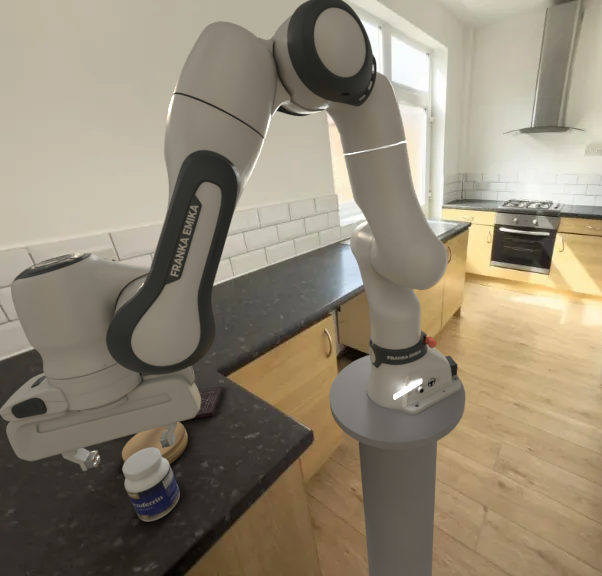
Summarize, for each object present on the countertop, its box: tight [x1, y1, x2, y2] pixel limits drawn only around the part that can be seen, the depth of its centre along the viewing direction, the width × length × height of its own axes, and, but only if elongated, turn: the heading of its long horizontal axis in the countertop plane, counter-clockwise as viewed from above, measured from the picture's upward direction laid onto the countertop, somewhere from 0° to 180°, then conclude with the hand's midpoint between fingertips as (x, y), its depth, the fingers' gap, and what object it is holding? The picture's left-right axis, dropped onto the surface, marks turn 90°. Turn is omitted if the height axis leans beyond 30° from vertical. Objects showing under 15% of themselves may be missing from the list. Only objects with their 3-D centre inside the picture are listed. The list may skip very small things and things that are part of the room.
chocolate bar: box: [183, 385, 224, 422], centre depth 71 cm, size 9×1×18 cm
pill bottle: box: [121, 448, 181, 522], centre depth 49 cm, size 6×6×10 cm
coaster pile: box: [121, 421, 189, 465], centre depth 60 cm, size 10×10×3 cm
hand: (132, 454), depth 47 cm, fingers open, 8 cm apart
